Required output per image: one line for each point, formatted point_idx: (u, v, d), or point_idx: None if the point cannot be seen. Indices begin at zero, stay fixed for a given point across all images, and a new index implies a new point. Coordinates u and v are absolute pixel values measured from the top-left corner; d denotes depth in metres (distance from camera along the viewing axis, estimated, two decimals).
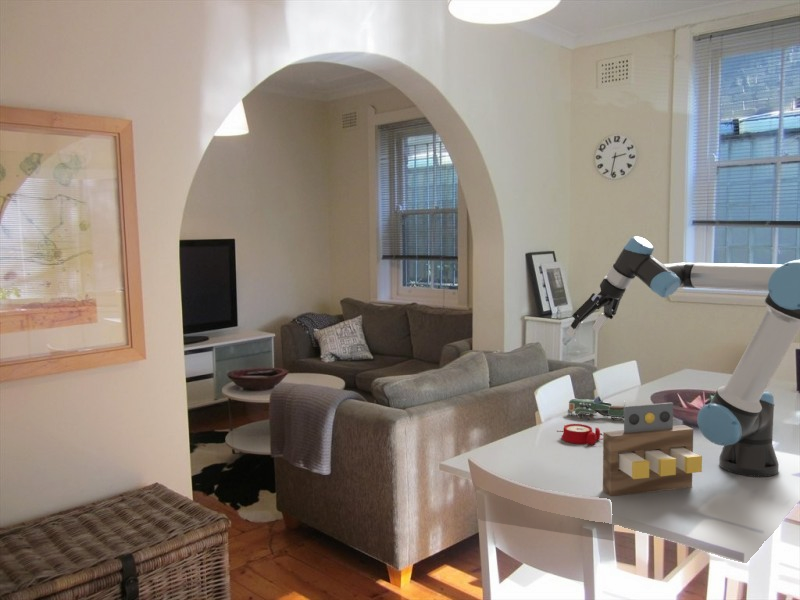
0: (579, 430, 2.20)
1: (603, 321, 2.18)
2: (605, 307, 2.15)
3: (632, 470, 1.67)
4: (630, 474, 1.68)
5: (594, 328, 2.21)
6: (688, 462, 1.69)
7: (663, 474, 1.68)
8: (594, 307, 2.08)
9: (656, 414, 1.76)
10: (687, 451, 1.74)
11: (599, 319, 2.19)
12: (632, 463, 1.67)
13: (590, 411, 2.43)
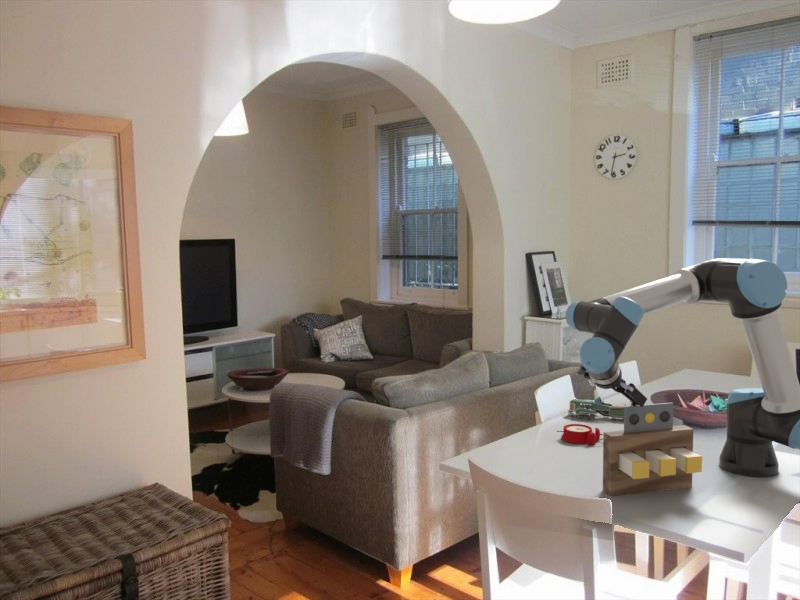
0: (579, 430, 2.19)
1: None
2: None
3: (632, 470, 1.67)
4: (630, 474, 1.68)
5: (594, 383, 1.84)
6: (688, 462, 1.69)
7: (663, 474, 1.68)
8: None
9: (656, 414, 1.76)
10: (687, 451, 1.74)
11: (592, 380, 1.81)
12: (632, 463, 1.67)
13: (591, 411, 2.43)
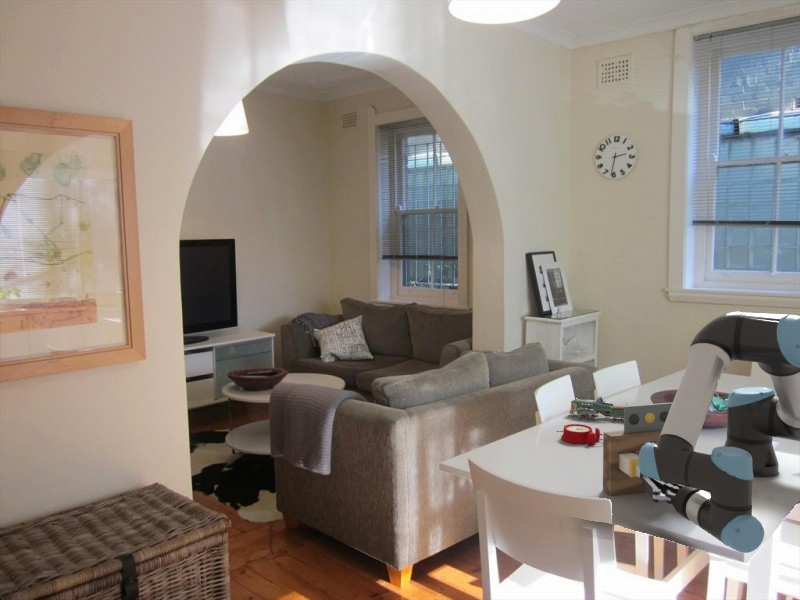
0: (579, 430, 2.19)
1: None
2: None
3: (629, 468, 1.68)
4: (627, 472, 1.69)
5: None
6: None
7: None
8: None
9: (656, 414, 1.76)
10: None
11: None
12: (629, 461, 1.68)
13: (592, 411, 2.43)
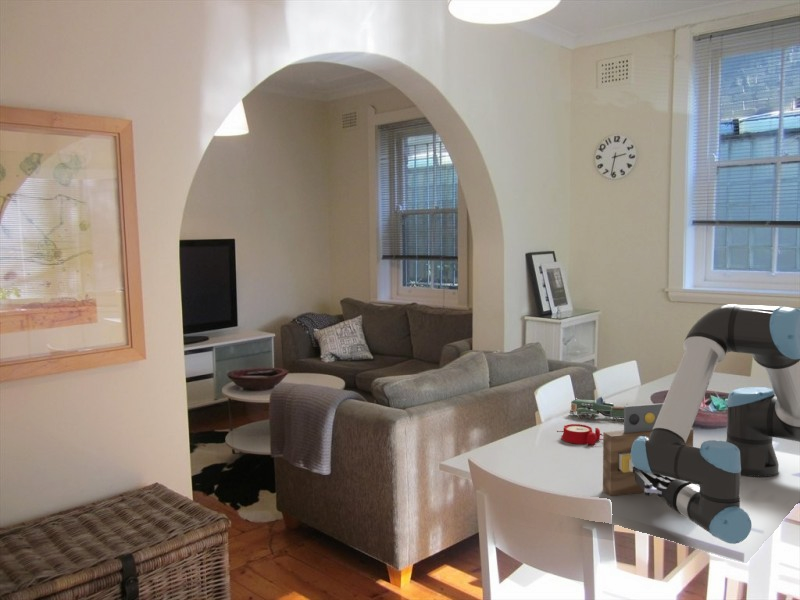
0: (579, 430, 2.19)
1: None
2: None
3: (622, 464, 1.72)
4: (620, 468, 1.73)
5: None
6: None
7: None
8: None
9: (656, 414, 1.76)
10: None
11: None
12: (622, 457, 1.72)
13: (592, 412, 2.42)
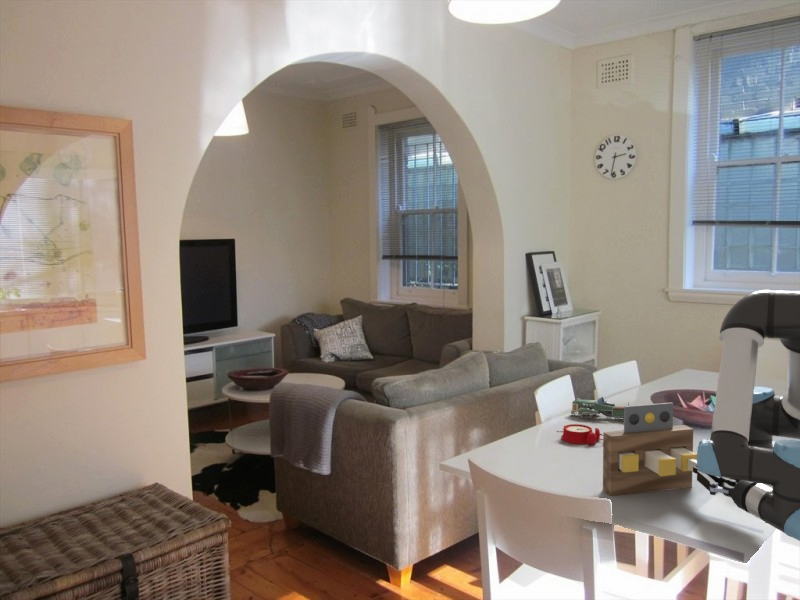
0: (579, 430, 2.19)
1: None
2: None
3: (622, 464, 1.72)
4: (620, 468, 1.73)
5: None
6: (684, 460, 1.71)
7: (663, 474, 1.68)
8: None
9: (656, 414, 1.76)
10: (684, 449, 1.76)
11: None
12: (622, 457, 1.72)
13: (593, 412, 2.42)
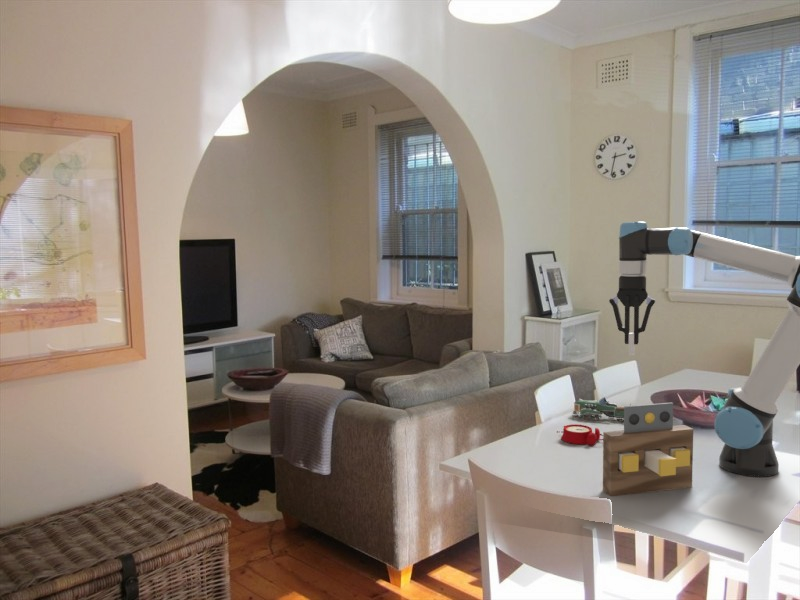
0: (579, 431, 2.19)
1: None
2: None
3: (622, 464, 1.72)
4: (620, 468, 1.73)
5: None
6: (676, 456, 1.74)
7: (663, 474, 1.68)
8: (625, 311, 1.94)
9: (656, 414, 1.76)
10: None
11: None
12: (622, 457, 1.72)
13: (595, 412, 2.42)
